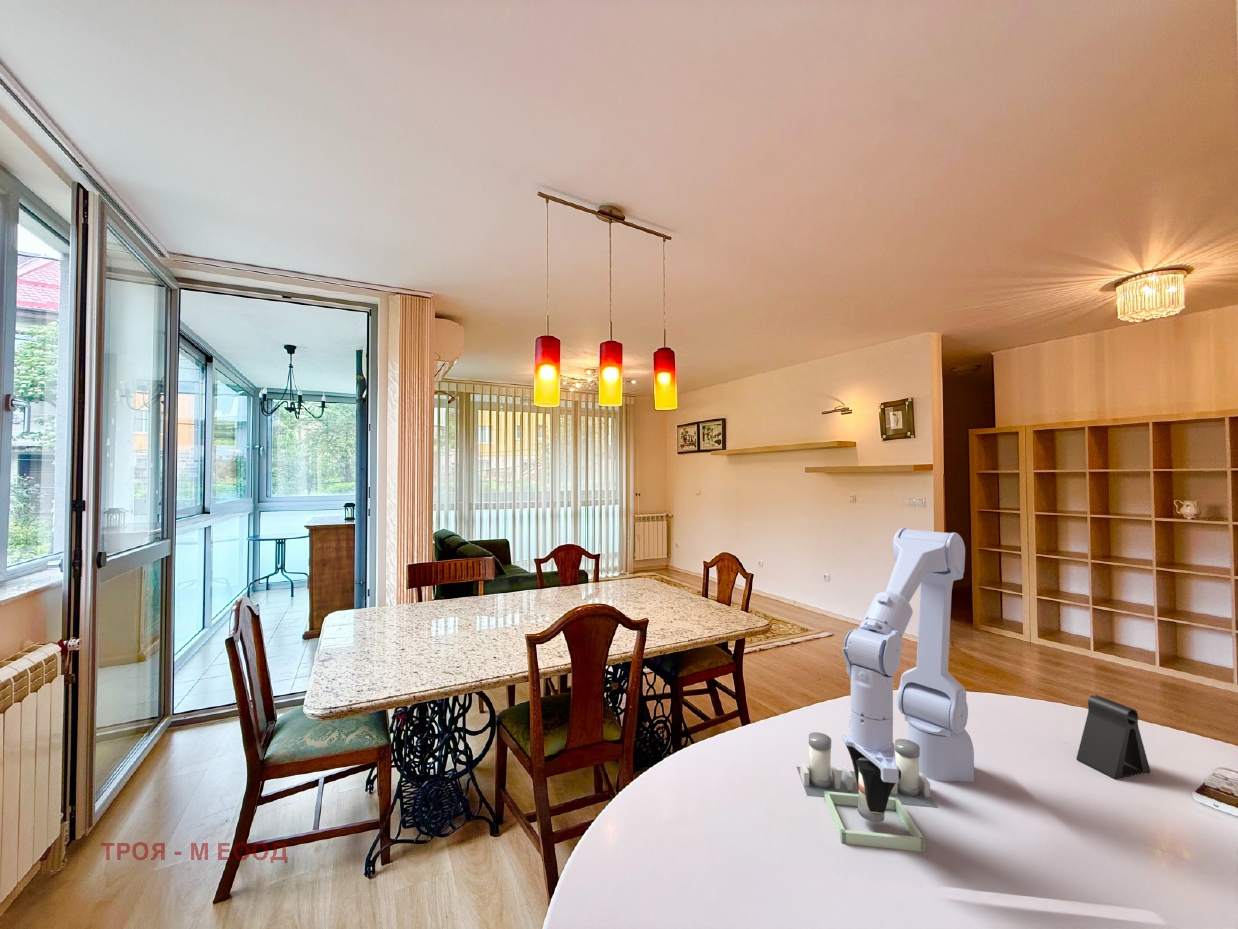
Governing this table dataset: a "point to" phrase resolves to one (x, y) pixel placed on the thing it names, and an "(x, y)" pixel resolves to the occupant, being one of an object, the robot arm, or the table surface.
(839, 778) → the clip board
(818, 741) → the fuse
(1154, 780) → the table surface
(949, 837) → the table surface
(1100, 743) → the phone stand
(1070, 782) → the table surface
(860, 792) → the marked fuse
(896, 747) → the fuse
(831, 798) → the tray
